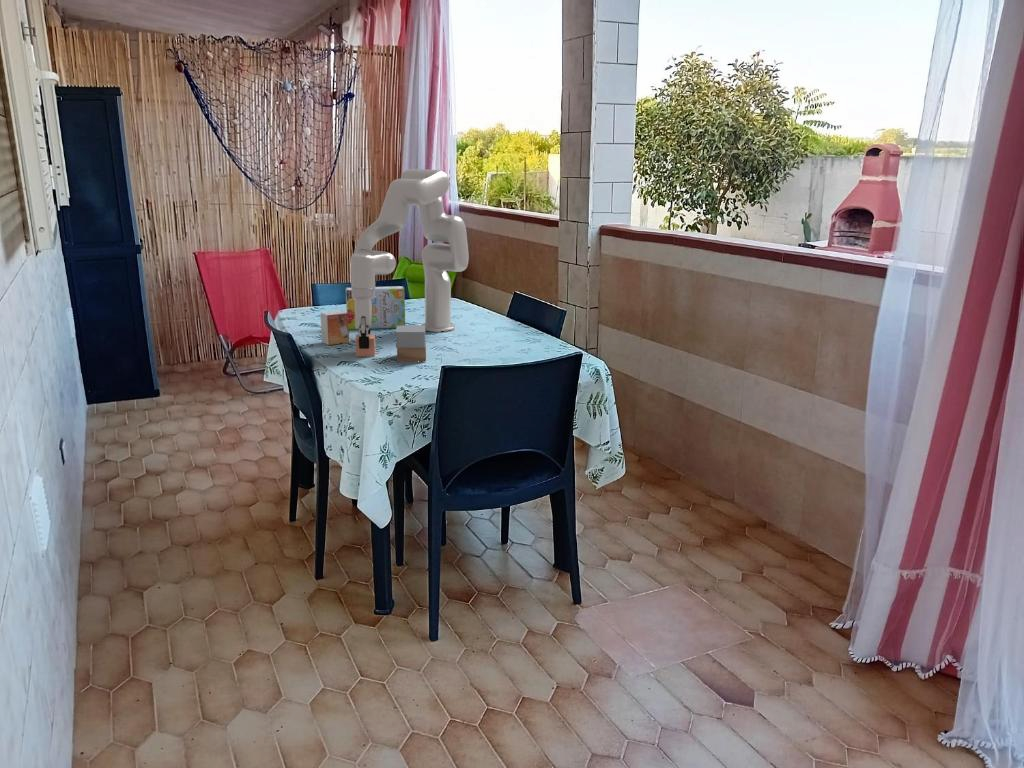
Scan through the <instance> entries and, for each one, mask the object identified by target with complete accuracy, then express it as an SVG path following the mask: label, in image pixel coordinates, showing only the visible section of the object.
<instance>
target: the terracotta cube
mask: <svg viewBox="0 0 1024 768" xmlns="http://www.w3.org/2000/svg"><path fill="white" fill-rule="evenodd" d="M368 336H369V349H360V348H359V334H356V335H355V338H354V339H355V340H354V341H355V357H356V356H371V357H375V356H376V334H371V333H370V334H368Z"/></svg>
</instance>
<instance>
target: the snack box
mask: <svg viewBox="0 0 1024 768" xmlns="http://www.w3.org/2000/svg"><path fill="white" fill-rule="evenodd" d="M375 296H376V297H375V298H373V299H372V321H371V327H370V330H371V329H372V330H373V329H397V326H406V303H405V302H406V301H405V300H406V298H405V297H406V296H405V287H404V286H400V285H399V286H397V285H396V286H395V285H394V286H375ZM345 304H346V305H345V307H346V312H347V313H348V319H349V329H350V330H359V328H357V329H355V299H354V298H352V290H351V287H345Z"/></svg>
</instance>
